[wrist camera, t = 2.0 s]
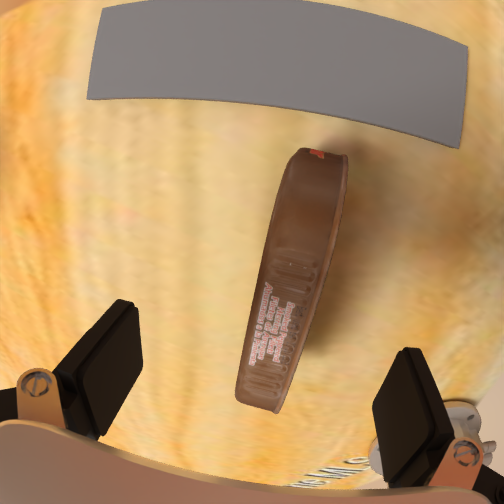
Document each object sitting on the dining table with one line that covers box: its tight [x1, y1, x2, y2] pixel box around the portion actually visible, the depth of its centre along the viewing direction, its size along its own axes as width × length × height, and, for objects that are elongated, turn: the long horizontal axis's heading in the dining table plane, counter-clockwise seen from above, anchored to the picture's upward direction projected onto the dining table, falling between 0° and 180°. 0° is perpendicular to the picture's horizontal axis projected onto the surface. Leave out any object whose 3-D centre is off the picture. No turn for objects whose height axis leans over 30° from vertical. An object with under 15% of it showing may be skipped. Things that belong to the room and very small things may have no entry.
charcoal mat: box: [87, 0, 468, 149], centre depth 16 cm, size 24×7×1 cm, turn 82°
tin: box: [235, 148, 348, 414], centre depth 17 cm, size 15×3×8 cm, turn 170°
